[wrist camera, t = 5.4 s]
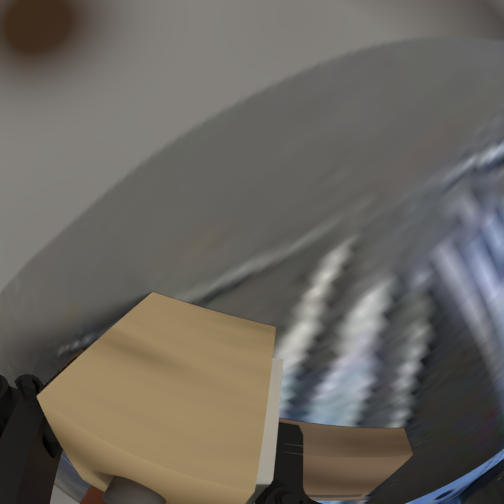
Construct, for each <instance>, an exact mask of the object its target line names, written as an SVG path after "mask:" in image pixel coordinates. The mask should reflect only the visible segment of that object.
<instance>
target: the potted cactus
mask: <svg viewBox="0 0 504 504" xmlns="http://www.w3.org/2000/svg"><path fill="white" fill-rule="evenodd" d="M104 493H105V492H104V491H102V490H100V489H98V488H96V487H94V486H93V485H91V486H90V488H89V490H88V491H87V493H86V494H85V496H84V498H83V499H82V501H81V503H80V504H106V503H105V502H104V501H103V500H102V496H103V494H104Z"/></svg>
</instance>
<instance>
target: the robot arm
mask: <svg viewBox="0 0 504 504" xmlns="http://www.w3.org/2000/svg"><path fill="white" fill-rule="evenodd" d="M78 357H79V356H78ZM78 357H75V358H73V359H72V360H71V361H70V362H69V363H68V364H67V365H66V366H65V367H63V368H62V369H61V371H59V372H58V373H57V374H56V375H55V376H54V377H53V378H52V379H51V380H50V381H48V382H47V383H46V384H45V385H44V386H43V384H42V382H41V381H40V380H39V378H37V377H36V376H34V375H29V374H28V375H22V376H20V377H18V378H17V379H16V380H15V383H16V386H17V388H18V389H15V388H13V387H11V386H9V384H8V382H7V380H6V379H5V377H3V376H2V375H0V504H50V499H51V494H52V489H53V485H54V480H55V476H56V472H57V468H58V464H59V461H60V457H61V453H62V450H63V448H62V447H61V445H60V443H59V441H58V440H57V438H56V436H55V434H54V432H53V430H52V428H51V426H50V425H49V423H48V421H47V418H46V416H45V414H44V412H43V410H42V408H41V406H40V403H39V401H38V399H37V395H38V394H39V393H40V392H41V391H42V390H44V389H45V388H46V387H47V386H48V385H49V384H50V383H51V382H52V381H53V380H54V379H55V378H56V377H57V376H58V375H59V374H60V373H61V372H63V371H64V370H65V369H66V368H67V367H68V366H69V365H70V364H71V363H72V362H73V361H74V360H76V359H77V358H78ZM282 364H283V360H282V359H278V358H273V360H272V369H271V377H270V386H269V394H268V402H267V410H266V418H265V426H264V433H263V440H262V447H261V454H260V461H259V468H258V474H257V480H256V487H255V492H254V493H253V494H252V496H251V497H250V498H249V499H248V501H247V502H246V503H245V504H254V503H255V504H321V503H318V502H316V501H314V500H312V499H311V498H309V497H308V496H307V494H306V493H305V491H304V489H303V433H302V431H301V429H300V427H299V425H296V424H289V423H283V422H278V421H279V409H280V395H281V380H282ZM459 499H460V502H461V504H504V460H503V461H502V462H501V463H499V464H498V465H497V466H495V467H494V468H493V469H492V470H490V471H489V472H488V473H486V474H485V475H484V476H483V477H481V478H480V479H479V480H478V481H476V482H475V483H474V484H473V485H471V486H470V487H469V488H468V489H467V490H466V491H465V492H464V493H463V494H462V495H461V496H460V497H459Z"/></svg>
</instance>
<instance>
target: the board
mask: <svg viewBox="0 0 504 504" xmlns="http://www.w3.org/2000/svg"><path fill="white" fill-rule="evenodd" d="M84 351H85V350H83V349H80V350H79V351H78V352H77V353H76V354H74V355H73V356H72V357H71V358H70V359H69V360H68V361H67V362H66V363H64V364H63V365H62V366H61V367H60V368H59V369H60V371H61V369H62V368H63V367H65V366H66V365H67V364H68V363H69V362H70V361H71V360H72V359H73V358H75V357H78V356H80V355H81V354H82V353H83V352H84ZM278 422H283V423H289V424H296V425H299V427H300V429H301V431H302V433H303V489H304V491H305V493H306V494H307V496H308V497H309V498H311V499H312V500H323V501H335V500H359V499H361V498H363V497H364V496H365V495H367V494H368V493H369V492H371V491H372V490H373V489H375V488H376V487H377V486H378V485H380V484H381V483H382V482H383V481H385V480H386V479H387V478H388V477H389V476H390V475H392V474H393V473H394V472H395V471H396V470H397V469H398V468H399V467H401V466H402V465H403V464H404V463H405V462H406V461H407V460H408V459H409V458H410V457H411V456H412V455H413V454H412V451H411V447H410V444H409V441H408V438H407V435H406V433H405V430H404V428H359V427H344V426H332V425H323V424H314V423H307V422H300V421H293V420H287V419H282V418H279V421H278Z"/></svg>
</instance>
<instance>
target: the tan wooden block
mask: <svg viewBox="0 0 504 504" xmlns="http://www.w3.org/2000/svg"><path fill="white" fill-rule="evenodd" d="M275 331H276V327H274V326H270V325H266V324H262V323H258V322H254V321H250V320H246V319H242V318H238V317H234V316H231V315H227V314H223V313H220V312H216V311H213V310H209V309H206V308H202V307H199V306H196V305H192V304H189V303H186V302H182V301H179V300H176V299H173V298H170V297H166V296H163V295H160V294H157V293H154V292H152V293H151V294H149V295H148V296H147V297H146V298H145V299H144V300H142V301H141V302H140V303H139V304H138V305H136V306H135V307H134V308H133V309H132V310H131V311H130V312H128V313H127V314H126V315H125V316H124V317H123V318H121V319H120V320H119V321H118V322H117V323H116V324H115V325H113V326H112V327H111V328H110V329H109V330H108V331H107V332H106V333H104V334H103V335H102V336H101V337H100V338H99V339H98V340H97V341H95V342H94V343H93V344H92V345H91V346H90V347H89V348H88V349H87V350H85V351H84V352H83V353H82V354H81V355H80V356H79V357H78V358H77V359H76V360H74V361H73V362H72V363H71V364H70V365H69V366H68V367H67V368H66V369H65V370H64V371H63V372H61V373H60V374H59V375H58V376H57V377H56V378H55V379H54V380H53V381H52V382H51V383H50V384H49V385H48V386H47V387H46V388H45V389H44V390H42V391H41V392H40V393H39V394H38V395H37V399H38V401H39V403H40V406H41V408H42V410H43V412H44V414H45V416H46V418H47V421H48V423H49V425H50V426H51V428H52V430H53V432H54V434H55V436H56V438H57V440H58V441H59V443H60V445H61V447H62V448H63V450H64V452H65V453H66V455H67V457H68V458H69V460H70V461H71V463H72V465H73V466H74V468H75V469H76V471H77V472H78V474H79V475H80V477H81V478H82V479H83V480H84V481H86V482H87V483H89V484H91V485H93V486H94V487H96V488H98V489H100V490H102V491H104V492H105V493H104V494H103V496H102V500H103V501H104V502H105V503H106V504H245V503H246V502H247V501H248V499H249V498H250V497H251V496H252V494H253V493H254V492H255V487H256V480H257V474H258V468H259V461H260V454H261V447H262V440H263V433H264V426H265V418H266V410H267V402H268V394H269V386H270V377H271V369H272V360H273V350H274V341H275Z"/></svg>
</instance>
